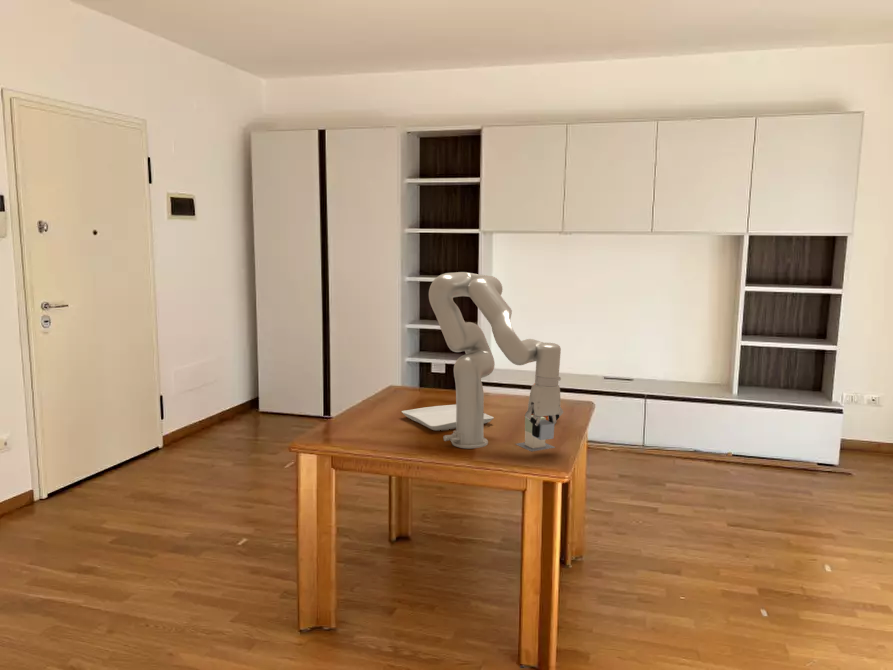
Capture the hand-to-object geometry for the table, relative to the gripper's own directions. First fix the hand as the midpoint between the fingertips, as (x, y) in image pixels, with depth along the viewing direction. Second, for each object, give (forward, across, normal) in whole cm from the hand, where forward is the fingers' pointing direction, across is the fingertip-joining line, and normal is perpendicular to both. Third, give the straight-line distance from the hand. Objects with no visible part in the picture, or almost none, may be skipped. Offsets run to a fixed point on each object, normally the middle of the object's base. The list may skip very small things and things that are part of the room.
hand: (542, 434), depth 228 cm
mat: (+7, -4, -9) cm, 12 cm away
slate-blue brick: (+1, 0, 0) cm, 1 cm away
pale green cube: (+2, -4, -9) cm, 10 cm away
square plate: (+10, +7, -52) cm, 54 cm away
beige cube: (+7, -4, -9) cm, 12 cm away
